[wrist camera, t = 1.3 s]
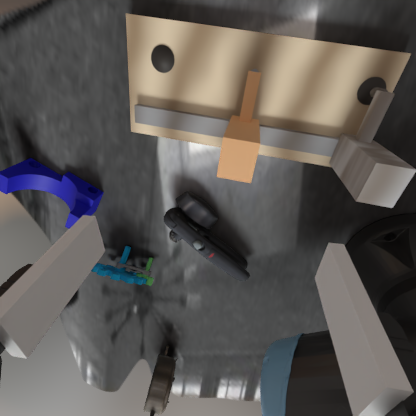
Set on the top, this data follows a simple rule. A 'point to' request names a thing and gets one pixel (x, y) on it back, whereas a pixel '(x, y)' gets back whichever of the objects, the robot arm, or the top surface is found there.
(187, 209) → the can opener
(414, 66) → the top surface
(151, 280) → the gear
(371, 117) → the plate
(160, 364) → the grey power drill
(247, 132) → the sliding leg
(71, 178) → the cable clip
